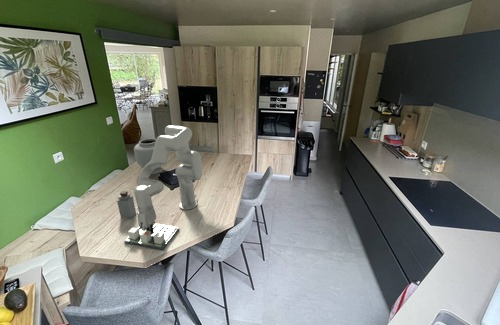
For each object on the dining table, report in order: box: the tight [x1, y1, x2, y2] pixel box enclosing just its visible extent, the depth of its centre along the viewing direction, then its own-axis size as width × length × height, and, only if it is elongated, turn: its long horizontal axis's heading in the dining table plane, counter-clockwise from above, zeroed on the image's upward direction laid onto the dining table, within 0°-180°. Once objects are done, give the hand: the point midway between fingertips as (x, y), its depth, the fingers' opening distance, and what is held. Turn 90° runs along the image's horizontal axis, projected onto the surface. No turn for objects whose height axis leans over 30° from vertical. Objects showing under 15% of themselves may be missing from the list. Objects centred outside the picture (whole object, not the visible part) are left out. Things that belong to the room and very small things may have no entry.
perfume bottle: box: [116, 190, 137, 220], centre depth 156 cm, size 7×7×18 cm
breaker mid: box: [140, 231, 152, 243], centre depth 133 cm, size 4×4×5 cm
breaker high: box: [154, 232, 165, 244], centre depth 132 cm, size 4×4×5 cm
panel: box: [123, 222, 180, 252], centre depth 140 cm, size 18×24×3 cm
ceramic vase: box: [133, 138, 164, 175], centre depth 221 cm, size 27×27×30 cm
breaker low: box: [127, 227, 140, 240], centre depth 135 cm, size 4×4×5 cm
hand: (150, 233), depth 138 cm, fingers closed
